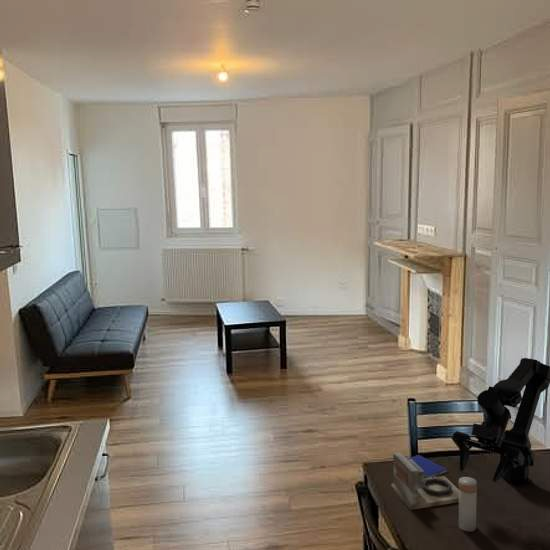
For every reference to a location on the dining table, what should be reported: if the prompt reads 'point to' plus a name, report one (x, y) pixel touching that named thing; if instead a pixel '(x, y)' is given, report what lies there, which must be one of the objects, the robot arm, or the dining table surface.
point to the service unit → (420, 485)
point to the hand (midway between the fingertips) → (477, 476)
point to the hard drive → (428, 466)
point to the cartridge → (467, 503)
